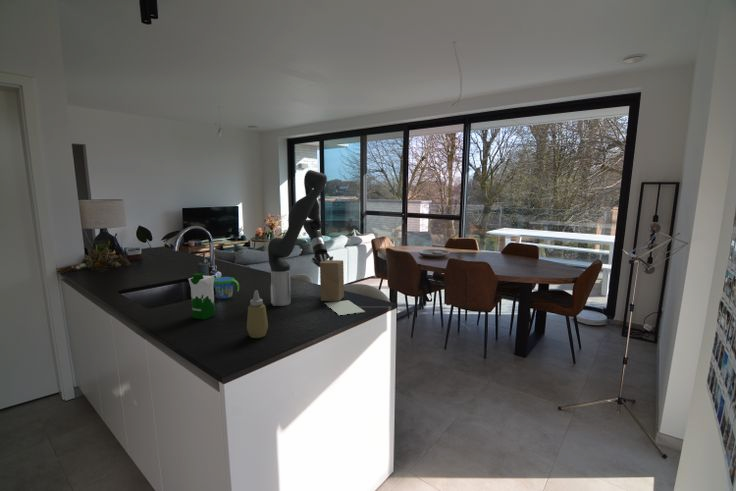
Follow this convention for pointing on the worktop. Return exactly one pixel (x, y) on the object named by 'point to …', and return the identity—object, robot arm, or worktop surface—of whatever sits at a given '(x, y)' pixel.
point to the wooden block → (332, 280)
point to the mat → (344, 307)
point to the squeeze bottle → (257, 317)
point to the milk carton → (202, 296)
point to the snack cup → (224, 287)
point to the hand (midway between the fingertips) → (326, 272)
